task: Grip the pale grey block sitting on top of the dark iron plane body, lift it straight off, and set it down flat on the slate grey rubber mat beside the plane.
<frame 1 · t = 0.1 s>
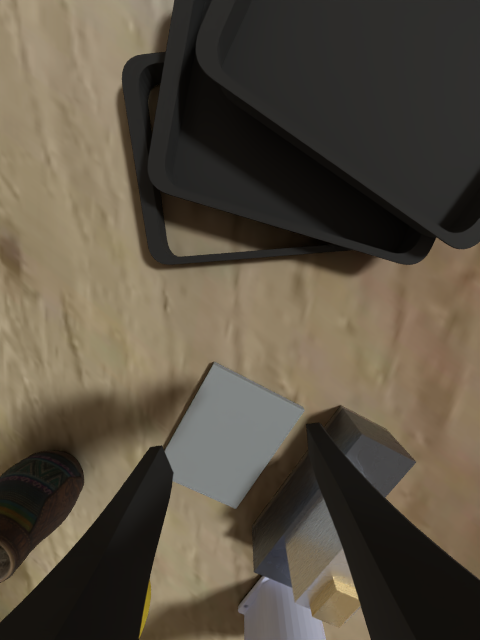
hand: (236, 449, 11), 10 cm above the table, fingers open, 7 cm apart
stack of dark trays: (315, 129, 17), on the table
mat: (226, 438, 23), on the table
plane body: (315, 480, 24), on the table
mate gourd: (62, 464, 24), on the table
pale grey block: (329, 521, 20), point 4 cm above the table, touching plane body
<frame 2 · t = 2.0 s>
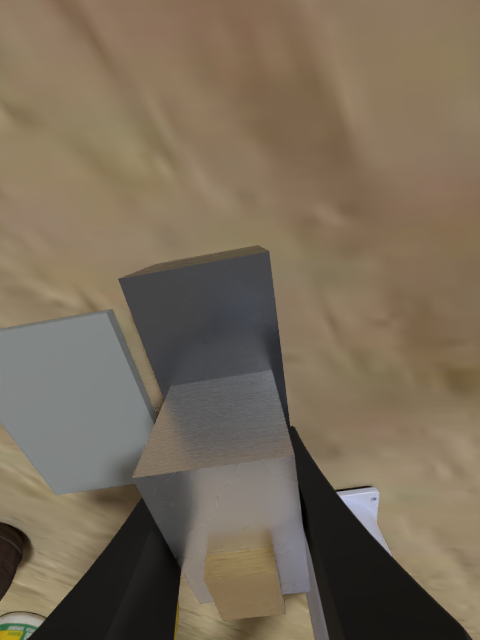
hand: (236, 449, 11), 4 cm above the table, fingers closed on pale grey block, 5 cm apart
mat: (82, 414, 16), on the table
plane body: (236, 390, 15), on the table
pale grey block: (236, 442, 11), point 4 cm above the table, touching gripper, plane body
supplement bottle: (27, 618, 28), on the table
when the fingers open (2 cm above the table, at t = 5.8 s): pale grey block stays where it is, resting on mat.
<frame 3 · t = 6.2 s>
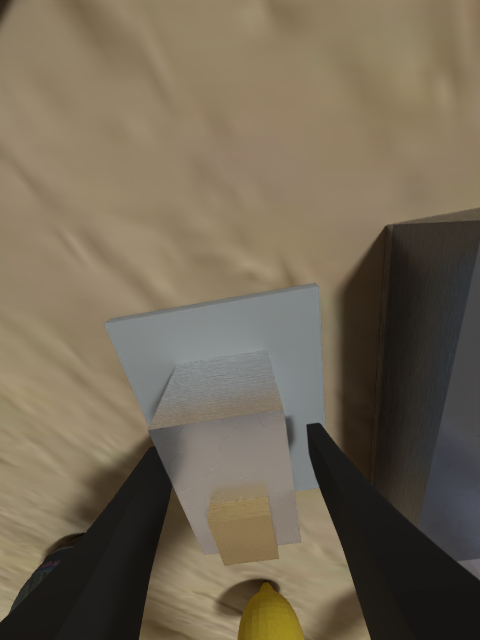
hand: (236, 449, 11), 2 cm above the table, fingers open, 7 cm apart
lemon: (265, 579, 21), on the table
mat: (236, 412, 13), on the table
plane body: (425, 383, 13), on the table
mate gourd: (97, 544, 18), on the table
pale grey block: (236, 416, 13), point 1 cm above the table, touching mat
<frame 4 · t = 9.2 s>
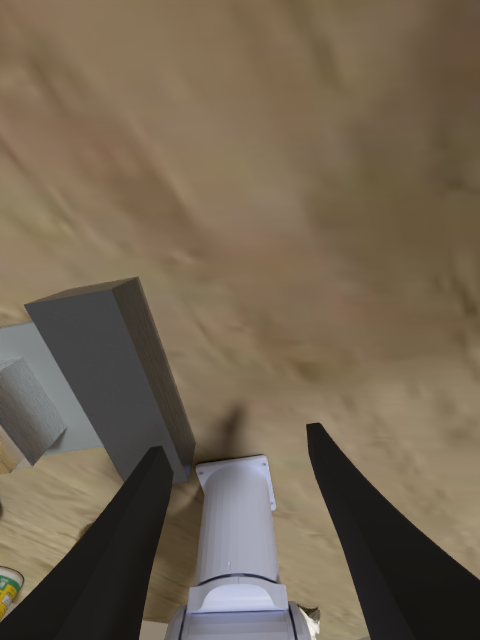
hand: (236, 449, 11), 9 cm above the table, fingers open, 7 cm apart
mat: (30, 395, 21), on the table
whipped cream: (296, 609, 40), on the table
plane body: (142, 377, 20), on the table
pale grey block: (23, 398, 20), point 1 cm above the table, touching mat
supplement bottle: (3, 573, 33), on the table
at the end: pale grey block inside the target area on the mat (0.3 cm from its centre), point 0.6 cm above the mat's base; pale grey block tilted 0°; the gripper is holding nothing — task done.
